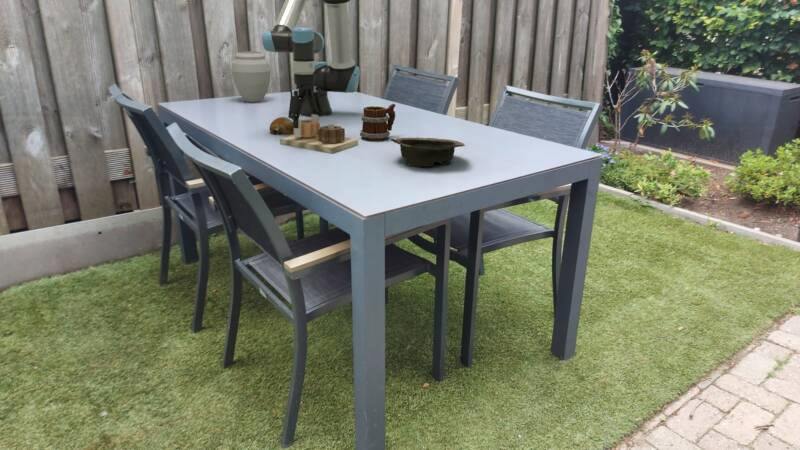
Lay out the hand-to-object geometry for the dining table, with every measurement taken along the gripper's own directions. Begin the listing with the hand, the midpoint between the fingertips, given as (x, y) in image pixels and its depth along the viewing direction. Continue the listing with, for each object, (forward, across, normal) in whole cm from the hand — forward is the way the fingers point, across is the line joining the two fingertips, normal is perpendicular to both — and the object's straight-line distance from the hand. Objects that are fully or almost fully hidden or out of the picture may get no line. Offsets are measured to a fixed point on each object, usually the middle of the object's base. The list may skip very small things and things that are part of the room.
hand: (306, 134), depth 212 cm
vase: (+3, +53, +78) cm, 95 cm away
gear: (0, 0, 0) cm, 0 cm away
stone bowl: (+3, +3, -50) cm, 50 cm away
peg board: (+3, 0, -6) cm, 7 cm away
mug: (+3, +22, -18) cm, 28 cm away
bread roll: (+4, +7, +18) cm, 20 cm away
